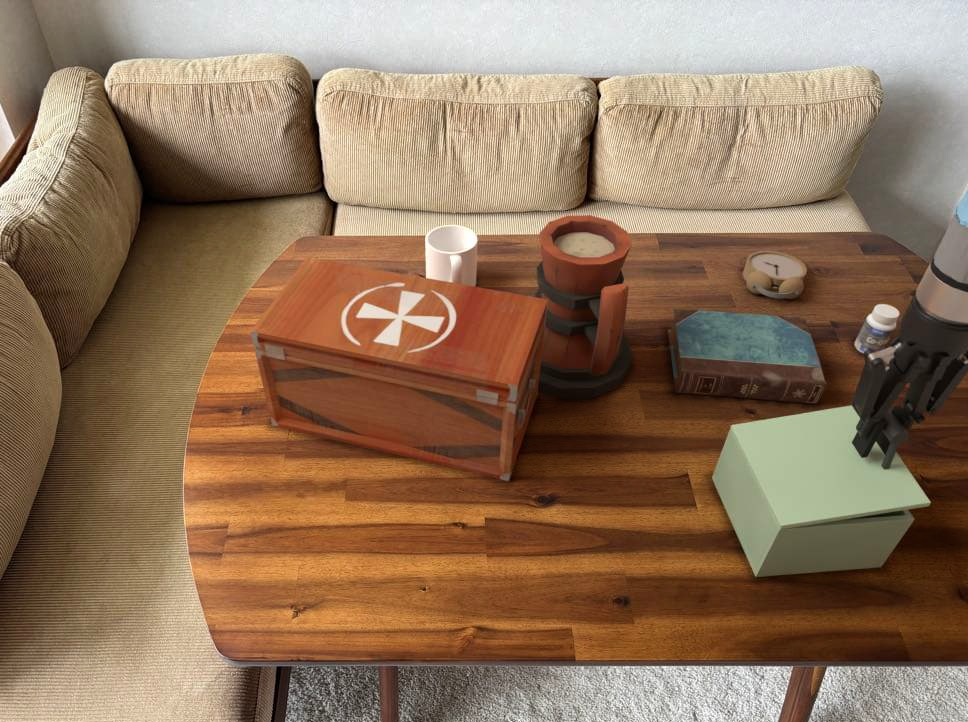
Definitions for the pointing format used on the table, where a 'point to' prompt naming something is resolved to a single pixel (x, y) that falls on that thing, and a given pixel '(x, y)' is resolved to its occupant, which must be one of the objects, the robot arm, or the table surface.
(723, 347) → the book
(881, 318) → the pill bottle
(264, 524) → the table surface
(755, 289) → the alarm clock
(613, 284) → the tankard
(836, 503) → the lid
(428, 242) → the mug
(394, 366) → the wooden box
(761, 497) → the chest
